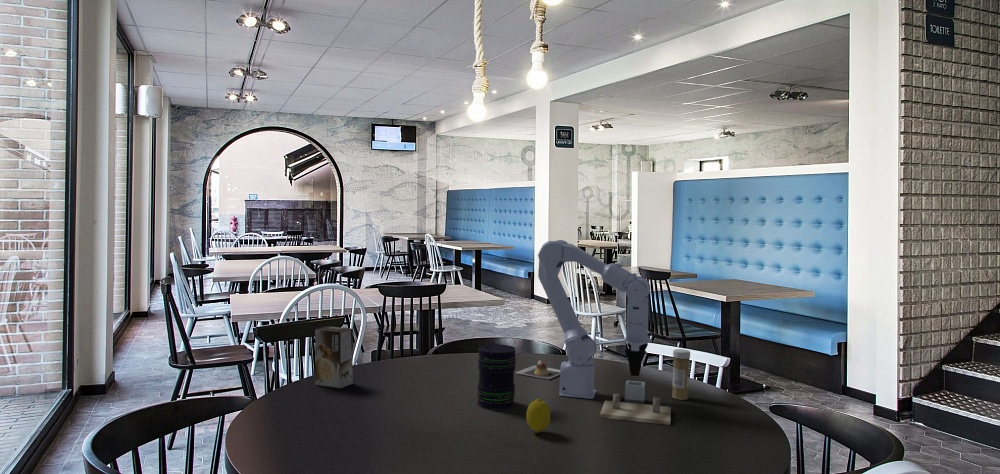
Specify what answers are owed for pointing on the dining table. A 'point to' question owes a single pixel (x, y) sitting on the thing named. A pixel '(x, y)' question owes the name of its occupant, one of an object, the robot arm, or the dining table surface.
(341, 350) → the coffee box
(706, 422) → the dining table surface
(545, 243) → the robot arm
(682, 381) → the sprinkles bottle
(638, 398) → the sleeve
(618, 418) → the pin board
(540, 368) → the dessert
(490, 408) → the storage jar
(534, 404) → the lemon
